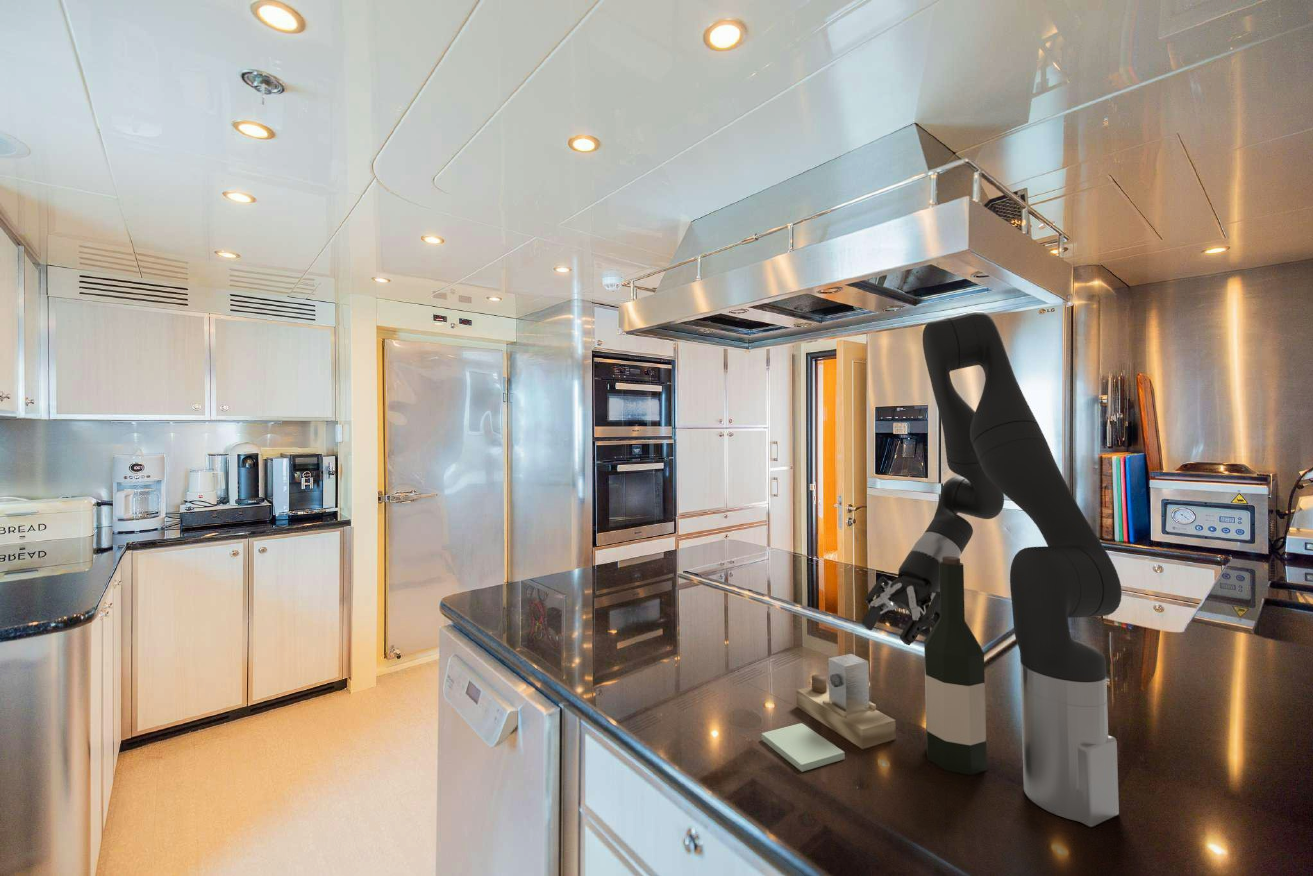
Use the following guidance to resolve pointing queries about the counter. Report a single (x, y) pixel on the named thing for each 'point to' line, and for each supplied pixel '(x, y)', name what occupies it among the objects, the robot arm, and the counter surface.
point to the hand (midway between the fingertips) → (884, 634)
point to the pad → (802, 747)
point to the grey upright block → (849, 683)
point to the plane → (845, 716)
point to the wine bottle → (954, 682)
